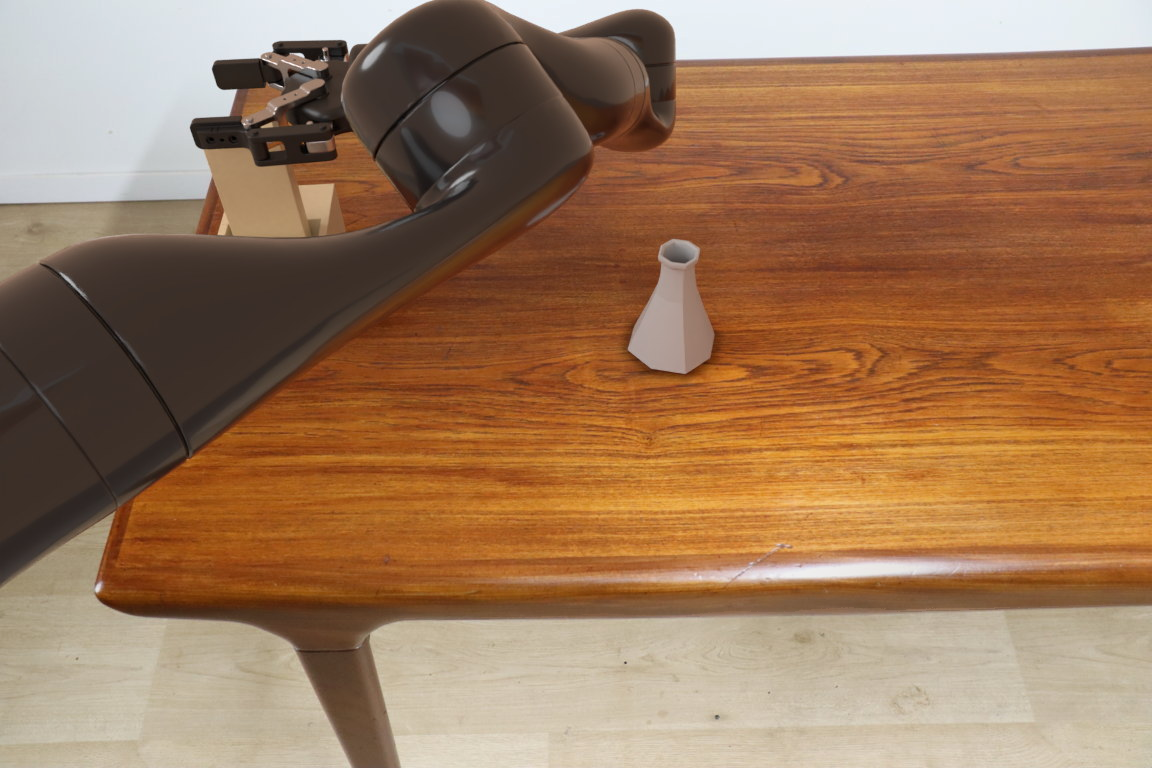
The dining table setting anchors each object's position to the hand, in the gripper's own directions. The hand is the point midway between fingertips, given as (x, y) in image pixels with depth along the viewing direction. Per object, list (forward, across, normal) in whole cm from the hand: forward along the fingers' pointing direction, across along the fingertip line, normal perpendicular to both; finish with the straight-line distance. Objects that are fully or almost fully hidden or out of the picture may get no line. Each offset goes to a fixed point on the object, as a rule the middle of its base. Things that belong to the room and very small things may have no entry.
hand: (204, 103), depth 72 cm
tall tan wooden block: (-2, 0, +17) cm, 17 cm away
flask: (-35, +10, +19) cm, 41 cm away
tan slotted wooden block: (-2, 0, +18) cm, 19 cm away
